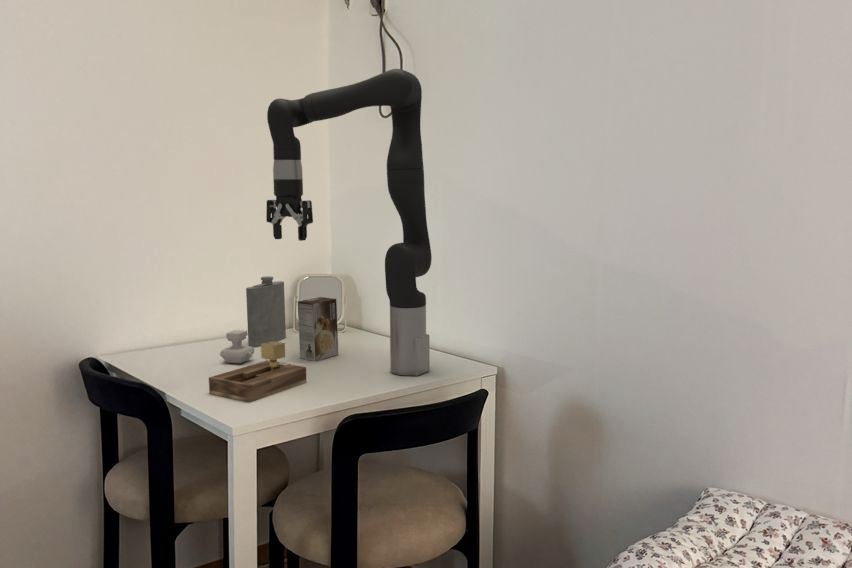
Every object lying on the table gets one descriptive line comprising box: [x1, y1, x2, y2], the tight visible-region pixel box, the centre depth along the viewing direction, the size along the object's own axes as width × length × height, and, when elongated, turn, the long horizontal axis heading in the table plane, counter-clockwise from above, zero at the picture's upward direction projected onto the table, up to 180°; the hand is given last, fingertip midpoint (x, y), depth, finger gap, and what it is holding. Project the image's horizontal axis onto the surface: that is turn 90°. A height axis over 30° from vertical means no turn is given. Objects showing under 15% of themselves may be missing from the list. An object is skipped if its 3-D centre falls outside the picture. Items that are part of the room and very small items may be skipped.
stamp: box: [219, 329, 255, 364], centre depth 206 cm, size 9×7×8 cm
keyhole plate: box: [208, 359, 307, 403], centre depth 182 cm, size 13×19×4 cm
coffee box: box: [297, 296, 339, 362], centre depth 211 cm, size 9×6×16 cm
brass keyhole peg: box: [260, 341, 286, 371], centre depth 185 cm, size 4×4×9 cm
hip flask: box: [245, 275, 287, 349], centre depth 229 cm, size 16×4×20 cm, turn 153°
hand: (290, 239), depth 202 cm, fingers open, 8 cm apart
